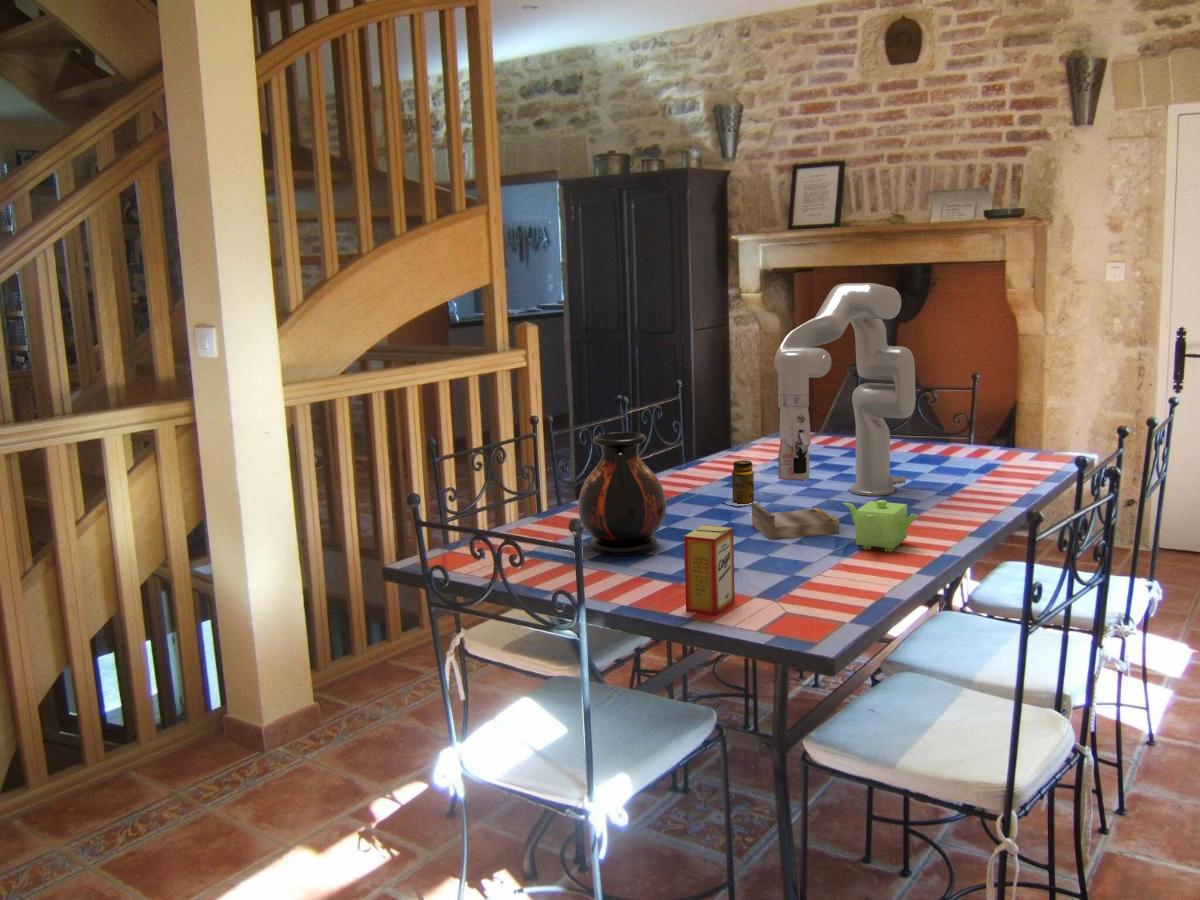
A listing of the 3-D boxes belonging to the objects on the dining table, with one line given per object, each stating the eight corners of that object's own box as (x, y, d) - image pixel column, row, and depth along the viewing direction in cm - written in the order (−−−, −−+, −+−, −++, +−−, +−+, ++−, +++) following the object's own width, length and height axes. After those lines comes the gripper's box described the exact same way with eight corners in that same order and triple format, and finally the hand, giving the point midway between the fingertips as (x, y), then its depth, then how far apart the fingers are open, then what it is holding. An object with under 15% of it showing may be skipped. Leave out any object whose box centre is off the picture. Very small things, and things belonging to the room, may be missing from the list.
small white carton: (784, 476, 267) (783, 437, 265) (809, 478, 263) (809, 439, 262) (778, 479, 264) (778, 440, 262) (804, 481, 260) (803, 441, 259)
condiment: (760, 503, 296) (759, 461, 294) (737, 508, 291) (737, 466, 289) (743, 498, 302) (742, 458, 300) (721, 503, 297) (720, 462, 295)
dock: (817, 519, 274) (817, 497, 273) (838, 533, 261) (838, 509, 260) (752, 525, 271) (751, 503, 270) (770, 539, 258) (770, 516, 257)
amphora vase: (582, 537, 268) (577, 430, 262) (666, 534, 267) (662, 426, 262) (578, 561, 246) (572, 445, 241) (669, 558, 246) (665, 442, 240)
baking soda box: (715, 615, 206) (714, 537, 203) (686, 611, 209) (683, 534, 206) (734, 601, 214) (733, 525, 211) (705, 597, 217) (703, 522, 214)
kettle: (867, 558, 239) (867, 510, 237) (838, 543, 253) (838, 497, 251) (925, 550, 243) (926, 503, 241) (893, 536, 256) (893, 491, 254)
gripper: (821, 404, 252) (821, 475, 255) (795, 395, 269) (795, 462, 272) (791, 406, 251) (792, 478, 254) (767, 397, 268) (768, 464, 271)
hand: (794, 469), depth 263 cm, fingers closed on small white carton, 7 cm apart
